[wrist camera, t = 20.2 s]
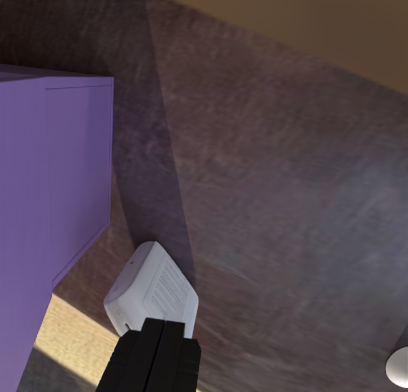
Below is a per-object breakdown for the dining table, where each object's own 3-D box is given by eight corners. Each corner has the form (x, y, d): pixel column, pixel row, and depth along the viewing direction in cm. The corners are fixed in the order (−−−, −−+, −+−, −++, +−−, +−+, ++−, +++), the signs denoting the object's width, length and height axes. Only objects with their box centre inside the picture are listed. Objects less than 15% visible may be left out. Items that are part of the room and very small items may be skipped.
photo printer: (127, 250, 43) (86, 314, 31) (156, 233, 42) (124, 293, 30) (176, 313, 45) (154, 395, 33) (204, 298, 44) (192, 377, 32)
